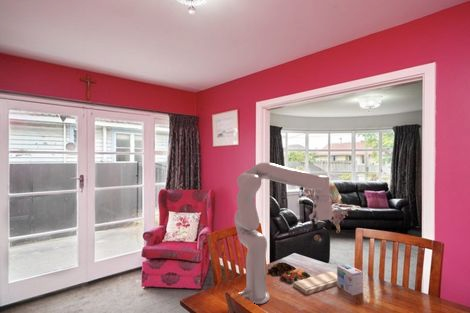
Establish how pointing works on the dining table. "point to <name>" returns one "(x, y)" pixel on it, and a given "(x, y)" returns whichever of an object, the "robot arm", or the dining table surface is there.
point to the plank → (316, 282)
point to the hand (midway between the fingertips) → (322, 229)
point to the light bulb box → (349, 279)
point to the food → (287, 272)
